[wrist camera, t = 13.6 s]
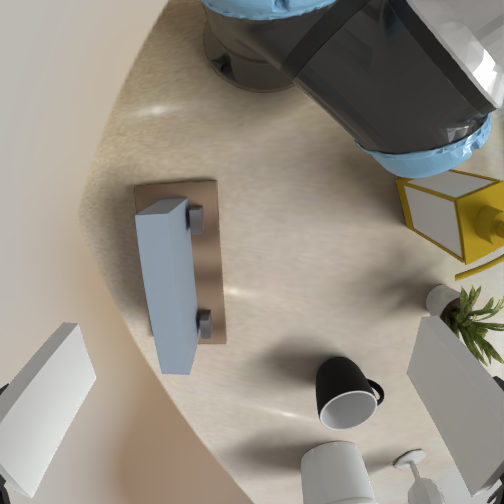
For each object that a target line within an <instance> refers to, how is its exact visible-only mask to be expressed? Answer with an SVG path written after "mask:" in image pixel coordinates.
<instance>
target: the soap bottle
mask: <svg viewBox="0 0 504 504" xmlns="http://www.w3.org/2000/svg"><path fill="white" fill-rule="evenodd" d="M395 182H396V185H397V189H398V193H399V197H400V201H401V204H402V209H403V213H404V217H405V221H406V225H407V228H409V229H411V230H412V231H414V232H416V233H417V234H419V235H420V236H422V237H424V238H425V239H427V240H428V241H430V242H432V243H433V244H435V245H436V246H438V247H440V248H441V249H443V250H444V251H446V252H447V253H449V254H450V255H452V256H453V257H455V258H456V259H458V260H460V261H461V262H463V263H465V265H468V264H470V263H472V262H473V261H475V260H477V259H479V258H481V257H483V256H485V255H487V254H489V253H491V252H493V251H495V250H496V249H498V248H500V247H502V246H504V181H501V180H498V179H494V178H489V177H485V176H481V175H476V174H471V173H467V172H462V171H457V170H452V169H450V170H448V171H445V172H443V173H440V174H437V175H433V176H429V177H424V178H401V179H398V180H395ZM502 261H504V254H503V255H501V256H500V257H498V258H496V259H494V260H492V261H490V262H488V263H486V264H483V265H481V266H478V267H476V268H473V269H470V270H468V271H465V272H462V273H459V274H457V275H455V281H457V280H460V279H463V278H465V277H468V276H471V275H473V274H476V273H479V272H481V271H484V270H486V269H488V268H490V267H492V266H494V265H496V264H498V263H500V262H502Z"/></svg>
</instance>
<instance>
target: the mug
mask: <svg viewBox="0 0 504 504" xmlns="http://www.w3.org/2000/svg"><path fill="white" fill-rule="evenodd" d="M371 387H372V388H374V389H375V390H376V391H377V392H378V394H379V396H380V399H378V400H376V397H375V394H374V392H373V390H372V388H371ZM383 399H384V391H383V389H382V388H381V386H380V385H379V384H377V383H376V382H374V381H372V380H369V379H366V378H365V376H364V374H363V373H362V371H361V370H360V369H359V367H358V366H357V365H356V364H355V363H354V362H353V361H351V360H349V359H347V358H343V357H337V358H333V359H330V360H328V361H326V362H325V363H324V364H323V365H322V366H321V367H320V368H319V370H318V373H317V376H316V401H317V409H318V415H319V419H320V421H321V423H322V424H323V425H324V426H325V427H326V428H329V429H332V430H348V429H352V428H355V427H357V426H359V425H361V424H363V423H365V422H366V421H367V420H368V419H369V418H370V417H371V416H372V415H373V414H374V412H375V410H376V408H377V406H378V405H379V404H381V403H382V401H383Z"/></svg>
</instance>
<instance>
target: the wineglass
mask: <svg viewBox="0 0 504 504" xmlns="http://www.w3.org/2000/svg"><path fill="white" fill-rule="evenodd" d="M425 456H426V452H424V451H423V450H422V449H420V450H414V451H410V452H409V453H407V454H405V455H404V456H402V457H401V458H399V460H398V461H397V462H396V464H395V465H394V467H395V468H397V469H399V470H403V469H409V468H411V469H412V472H413V474H414V477H415V482H414V484H413V485H412V487H411V488H410V490H409V491H408V503H409V504H445V500H444V496H443V493H442V491H441V488H440V487H439V486H438V485H437V484H436V482H435V481H433V480H431V479H426V478H421V477H420V475H419V472H418V470H417V467H416V464H418V463H419V462H421V461H422V460H423V458H424V457H425Z"/></svg>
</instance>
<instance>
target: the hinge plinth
mask: <svg viewBox="0 0 504 504" xmlns="http://www.w3.org/2000/svg"><path fill="white" fill-rule="evenodd" d="M134 192H135V203H136V213H137V214H138V213H140V212H141V211H143V210H144V209H146V208H148V207H149V206H151V205H152V204H154V203H156V202H157V201H159V200H161V199H172V198H188V206H189V220H190V233H191V245H192V257H193V268H194V278H195V288H196V297H197V306H198V315H199V324H200V332H201V333H200V337H199V340H198V344H226V341H227V335H226V322H225V309H224V294H223V280H222V264H221V247H220V230H219V210H218V190H217V181H197V182H180V183H165V184H151V185H139V186H136V187H134Z"/></svg>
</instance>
